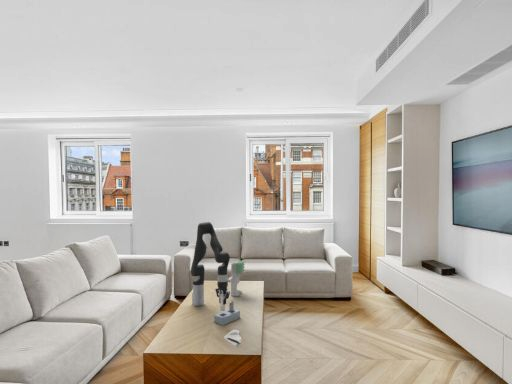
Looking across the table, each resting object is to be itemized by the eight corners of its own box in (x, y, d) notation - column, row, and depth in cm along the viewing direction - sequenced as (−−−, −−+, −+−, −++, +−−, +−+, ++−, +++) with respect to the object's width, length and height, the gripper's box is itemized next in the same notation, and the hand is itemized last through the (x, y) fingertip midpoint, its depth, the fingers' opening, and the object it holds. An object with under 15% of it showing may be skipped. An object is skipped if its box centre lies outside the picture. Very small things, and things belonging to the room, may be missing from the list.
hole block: (214, 321, 233) (214, 315, 233) (231, 314, 247) (231, 308, 247) (222, 325, 227) (222, 318, 227) (240, 317, 241) (239, 310, 241)
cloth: (227, 329, 222) (227, 326, 222) (247, 330, 221) (247, 326, 221) (219, 347, 196) (219, 343, 196) (241, 348, 195) (241, 344, 195)
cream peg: (219, 310, 233) (219, 293, 233) (222, 308, 236) (222, 292, 236) (222, 311, 231) (222, 294, 231) (225, 309, 234) (225, 293, 234)
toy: (238, 300, 280) (238, 265, 280) (227, 299, 282) (227, 265, 282) (247, 289, 309) (247, 258, 309) (237, 289, 311) (237, 258, 311)
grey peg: (228, 317, 240) (228, 301, 240) (231, 316, 243) (231, 300, 243) (231, 319, 238) (231, 302, 238) (234, 317, 241) (234, 301, 241)
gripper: (212, 279, 235) (212, 303, 235) (225, 283, 226) (225, 307, 226) (219, 277, 241) (219, 300, 241) (233, 280, 232) (233, 304, 232)
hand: (222, 303), depth 234 cm, fingers closed on cream peg, 3 cm apart
